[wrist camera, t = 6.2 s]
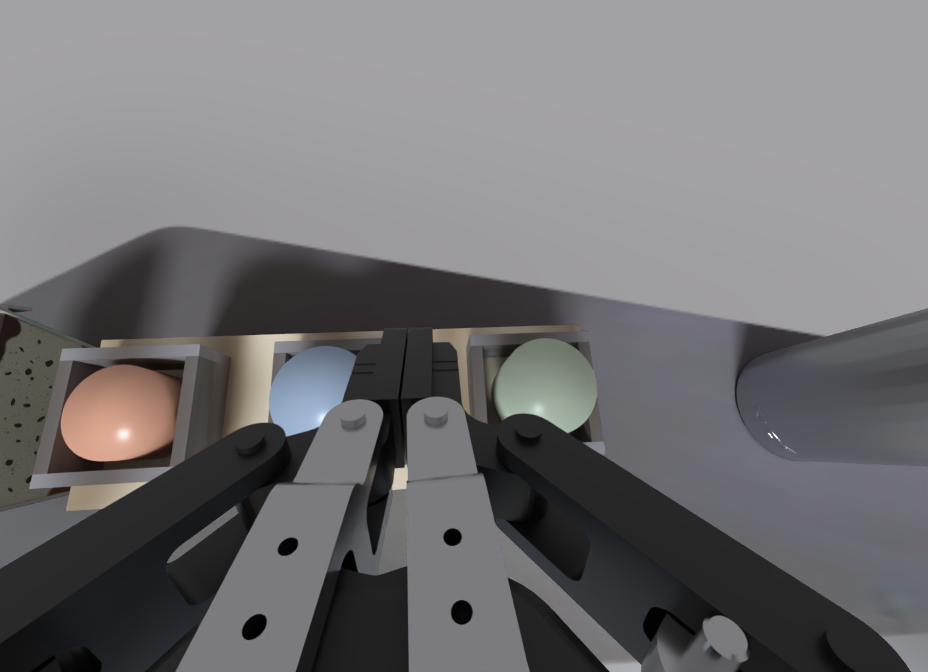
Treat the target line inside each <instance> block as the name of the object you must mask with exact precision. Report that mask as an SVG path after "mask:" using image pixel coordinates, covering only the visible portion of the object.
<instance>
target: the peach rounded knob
mask: <svg viewBox="0 0 928 672" xmlns="http://www.w3.org/2000/svg"><path fill="white" fill-rule="evenodd" d="M182 380H183V379H182V378H179V377H175V376H171V375H168V374H164V373H160V372H157V371H153V370H149V369H145V368H142V367H138V366H133V365H115V366H110V367H107V368H104V369H101V370H99V371H97V372H95V373H93V374H91V375H90V376H88V377H87V378H86V379H84V380H83V381H82V382H81V383H80V384H79V385H78V386H77V387H76V388H75V389H74V390H73V392H72V393H71V394H70V396H69V398H68V399H67V401H66V404H65V406H64V408H63V412H62V417H61V431H62V435H63V438H64V440H65V442H66V444H67V446H68V447H69V448H70V449H71V450H72V451H73V452H74V453H75V454H77V455H78V456H80V457H82V458H85V459H88V460H92V461H120V460H143V459H158V458H163V457H167V456H170V455H172V448H173V441H174V434H175V427H176V421H177V414H178V407H179V400H180V393H181V386H182Z"/></svg>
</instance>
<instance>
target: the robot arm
mask: <svg viewBox="0 0 928 672" xmlns="http://www.w3.org/2000/svg"><path fill="white" fill-rule="evenodd" d="M737 403H738V408H739V412H740V414H741V417H742V419H743V421H744V423H745V425H746V427H747V428H748V430H749V431H750V433H751V434H752V435H753V436H754V437H755V438H756V440H757V441H758V442H759V443H760V444H761V445H763V446H764V447H765V448H767V449H768V450H769V451H771V452H773V453H775V454H777V455H779V456H781V457H783V458H787V459H790V460H796V461H817V462H839V463H856V464H881V465H905V466H928V308H927V309H924V310H920V311H916V312H913V313H909V314H906V315H902V316H898V317H895V318H891V319H888V320H884V321H880V322H877V323H874V324H870V325H866V326H862V327H859V328H855V329H852V330H849V331H845V332H841V333H837V334H834V335H830V336H827V337H823V338H819V339H816V340H812V341H809V342H804V343H801V344H797V345H794V346H790V347H787V348H783V349H780V350H776V351H773V352H769V353H765V354H763V355H760V356H758V357H755V358H754V359H753V360H751V361H750V362H749V363H748V364H747V365H746V366H745V368H744V369H743V370H742V372H741V375H740V377H739V379H738V384H737ZM405 459H407V468H408V481H407V483H406V501H407V566H406V567H403V568H400V569H397V570H394V571H391V572H388V573H385V574H381V575H378V570H379V562H380V557H381V552H382V547H383V542H384V537H385V532H386V527H387V522H388V517H389V512H390V507H391V502H392V496H393V489H392V485H393V481H394V472H395V468H405ZM234 506H236V508H237V510H238V512H239V513H238V514H237V515H236V516H234V517H233V518H232V519H230V520H229V521H228V522H226V523H225V524H224V525H222V526H221V527H220V528H218V529H217V530H216V531H214V532H213V533H212V534H210V535H209V536H208V537H206V538H205V539H204V540H202V541H201V542H200V543H198V544H197V545H196V546H194V547H193V548H192V549H190V550H189V551H188V552H186V553H185V554H184V555H182V556H181V557H180V558H178V559H176V560H175V561H173V562H170V563H167V561H168V559H169V557H170V556H171V555H172V553H173V552H174V551H175V550H176V549H177V548H178V547H179V546H180V545H182V544H183V543H184V542H186V541H187V540H188V539H190V538H191V537H193V536H194V535H195V534H197V533H198V532H199V531H201V530H202V529H204V528H205V527H206V526H208V525H209V524H210V523H212V522H213V521H215V520H216V519H217V518H219V517H220V516H221V515H223V514H224V513H225V512H227V511H228V510H230V509H231V508H232V507H234ZM495 523H496V525H497V526H498V527H499V529H500V530H501V531H502V532H503V533H504V534H506V535H507V536H508V537H509V538H510V539H511V540H512V541H513V542H514V543H515V544H516V545H517V546H518V547H519V548H520V549H521V550H522V551H523V552H524V553H525V554H526V555H527V556H528V557H530V558H531V559H532V560H533V561H534V562H535V563H536V564H537V565H538V566H539V567H540V568H541V569H542V570H543V571H544V572H545V573H546V574H547V575H548V576H549V577H550V578H551V579H552V580H553V581H555V582H556V583H557V584H558V585H559V586H560V587H561V588H562V589H563V590H564V591H565V592H566V593H567V594H568V595H569V596H570V597H571V598H572V599H573V600H574V601H575V602H576V603H577V604H578V605H580V606H581V607H582V608H583V609H584V610H585V611H586V612H587V613H588V614H589V615H590V616H591V617H592V618H593V619H594V620H595V621H596V622H597V623H598V624H599V625H600V626H601V627H602V628H604V629H605V630H606V631H607V632H608V633H609V634H610V635H611V636H612V637H613V638H614V639H615V640H616V641H617V642H618V643H619V644H620V645H621V646H622V647H623V648H624V649H625V650H626V651H627V652H629V653H630V654H631V655H632V656H633V657H634V658H635V659H636V660H637V661H638V662H639V663H640V664H641V665H642V666H641V672H911V671H910V670H909V668H908V667H907V665H906V664H905V662H904V661H903V660H902V659H901V657H900V656H899V655H898V653H897V652H896V651H895V650H894V649H893V648H892V647H891V646H890V645H889V644H888V643H887V642H886V641H885V640H884V639H883V638H882V637H881V636H880V635H879V634H878V633H877V632H875V631H874V630H873V629H872V628H870V627H869V626H868V625H867V624H865V623H864V622H862V621H861V620H859V619H858V618H857V617H855V616H853V615H852V614H850V613H849V612H847V611H846V610H844V609H842V608H841V607H839V606H838V605H836V604H835V603H833V602H832V601H830V600H828V599H827V598H825V597H824V596H822V595H821V594H819V593H817V592H816V591H814V590H813V589H811V588H810V587H808V586H806V585H805V584H803V583H802V582H800V581H799V580H797V579H795V578H794V577H792V576H791V575H789V574H788V573H786V572H784V571H783V570H781V569H780V568H778V567H777V566H775V565H774V564H772V563H770V562H769V561H767V560H766V559H764V558H763V557H761V556H759V555H758V554H756V553H755V552H753V551H752V550H750V549H748V548H747V547H745V546H744V545H742V544H741V543H739V542H737V541H736V540H734V539H733V538H731V537H730V536H728V535H727V534H725V533H723V532H722V531H720V530H719V529H717V528H716V527H714V526H712V525H711V524H709V523H708V522H706V521H705V520H703V519H701V518H700V517H698V516H697V515H695V514H694V513H692V512H690V511H689V510H687V509H686V508H684V507H683V506H681V505H679V504H678V503H676V502H675V501H673V500H672V499H670V498H669V497H667V496H665V495H664V494H662V493H661V492H659V491H658V490H656V489H654V488H653V487H651V486H650V485H648V484H647V483H645V482H643V481H642V480H640V479H639V478H637V477H636V476H634V475H632V474H631V473H629V472H628V471H626V470H625V469H623V468H622V467H620V466H618V465H617V464H615V463H614V462H612V461H611V460H609V459H607V458H606V457H604V456H603V455H601V454H600V453H598V452H596V451H595V450H593V449H592V448H590V447H589V446H587V445H585V444H584V443H582V442H581V441H579V440H578V439H576V438H575V437H573V436H571V435H570V434H568V433H567V432H565V431H564V430H562V429H560V428H559V427H557V426H556V425H554V424H553V423H551V422H549V421H548V420H546V419H544V418H542V417H540V416H537V415H534V414H526V413H521V414H514V415H511V416H509V417H507V418H505V419H504V420H503V421H502V422H501V423H500V424H499V426H498V425H493V424H488V423H484V422H481V421H478V420H476V419H474V418H473V417H471V416H470V415H469V414H468V413H467V412H466V411H465V410H464V408H463V405H462V398H461V388H460V378H459V367H458V357H457V350H456V349H455V348H454V347H453V345H452V344H451V343H450V342H433V328H432V327H412V328H409V331H408V328H384V331H383V335H382V339H381V343H380V344H367V345H366V346H365V347H364V348H363V349H362V350H361V351H360V352H359V353H358V354H357V357H356V360H355V363H354V366H353V369H352V372H351V375H350V378H349V381H348V385H347V388H346V391H345V394H344V397H343V400H342V403H341V404H339V405H337V406H335V407H333V408H332V409H331V410H330V411H329V412H328V413H327V414H326V415H325V417H324V419H323V421H322V423H321V425H320V426H319V427H317V428H315V429H312V430H309V431H305V432H301V433H298V434H294V435H290V436H286V434H285V431H284V430H283V428H282V427H281V426H279V425H277V424H274V423H255V424H251V425H248V426H245V427H242V428H240V429H238V430H236V431H234V432H232V433H231V434H229V435H227V436H226V437H224V438H222V439H220V440H219V441H217V442H215V443H214V444H212V445H210V446H208V447H207V448H205V449H203V450H202V451H200V452H198V453H197V454H195V455H193V456H191V457H190V458H188V459H186V460H185V461H183V462H181V463H180V464H178V465H176V466H174V467H173V468H171V469H169V470H168V471H166V472H164V473H163V474H161V475H159V476H157V477H156V478H154V479H152V480H151V481H149V482H147V483H146V484H144V485H142V486H140V487H139V488H137V489H135V490H134V491H132V492H130V493H129V494H127V495H125V496H123V497H122V498H120V499H118V500H117V501H115V502H113V503H112V504H110V505H108V506H106V507H105V508H103V509H101V510H100V511H98V512H96V513H95V514H93V515H91V516H89V517H88V518H86V519H84V520H83V521H81V522H79V523H78V524H76V525H74V526H72V527H71V528H69V529H67V530H66V531H64V532H62V533H61V534H59V535H57V536H55V537H54V538H52V539H50V540H49V541H47V542H45V543H44V544H42V545H40V546H38V547H37V548H35V549H33V550H32V551H30V552H28V553H26V554H25V555H23V556H21V557H20V558H18V559H16V560H15V561H13V562H11V563H9V564H8V565H6V566H4V567H3V568H1V569H0V672H609V671H608V670H607V668H606V667H605V666H604V665H603V664H602V663H601V662H600V661H599V660H598V659H597V658H596V656H595V655H594V654H593V653H592V652H591V651H590V650H589V649H588V648H587V647H586V646H585V644H584V643H583V642H582V641H581V640H580V639H579V638H578V637H577V636H576V635H575V634H574V633H573V631H572V630H571V629H570V628H569V627H568V626H567V625H566V624H565V623H564V622H563V621H562V619H561V618H560V617H559V616H558V615H557V614H556V613H555V612H554V611H553V610H552V609H551V608H550V607H549V606H548V605H547V604H546V603H545V602H544V601H543V600H542V599H541V598H540V597H538V596H537V595H536V594H535V593H534V592H532V591H531V590H529V589H528V588H526V587H525V586H523V585H522V584H520V583H518V582H516V581H514V580H512V579H510V578H507V573H506V569H505V565H504V560H503V556H502V552H501V547H500V543H499V539H498V534H497V530H496V526H495Z"/></svg>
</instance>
